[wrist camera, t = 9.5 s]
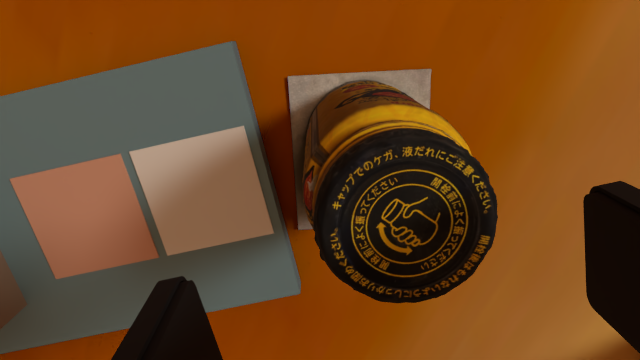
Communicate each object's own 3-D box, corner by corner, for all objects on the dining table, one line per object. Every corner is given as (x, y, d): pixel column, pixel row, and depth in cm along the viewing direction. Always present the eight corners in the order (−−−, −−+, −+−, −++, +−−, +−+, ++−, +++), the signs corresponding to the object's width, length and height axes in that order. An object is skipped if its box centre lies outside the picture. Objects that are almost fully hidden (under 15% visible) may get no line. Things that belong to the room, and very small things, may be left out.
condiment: (430, 68, 22) (547, 99, 11) (426, 221, 25) (517, 374, 14) (287, 75, 23) (257, 114, 11) (298, 227, 25) (283, 384, 14)
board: (300, 282, 26) (297, 336, 21) (-72, 358, 28) (-153, 424, 23) (235, 41, 22) (212, 42, 17) (-201, 145, 23) (-332, 172, 19)
